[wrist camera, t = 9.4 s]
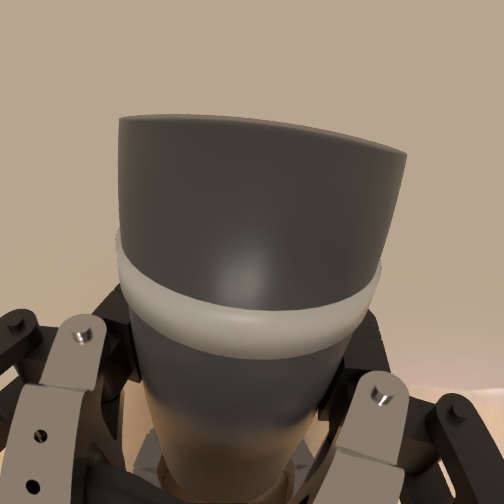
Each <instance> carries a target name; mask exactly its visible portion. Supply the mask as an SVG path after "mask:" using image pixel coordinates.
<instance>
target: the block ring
mask: <svg viewBox="0 0 504 504" xmlns="http://www.w3.org/2000/svg"><path fill="white" fill-rule="evenodd" d="M150 434H151V435H150ZM150 434H147V435H146V438H145V440H144V442H143V445H142V447H141V449H140V452H139V454H138V456H137V459H136V461H135V463H134V468H135V469H133V471H134V474H135V475H138V476H140V477H142V478H143V479H145V480H146V481H148V482H150V483H151V484H153V485H155V486H156V487H158V488H160V489H161V490H163V491H164V488H163V485H162V478H163V475H164V473H165V470H166V467H167V465H166V462H165V459H164V456H163V453H162V450H161V447H160V444H159V440H158V437H157V434H156V430H155V427H154V428H153V429H152V430H150ZM313 461H314V457H313V456H312V454H311V452H310V451H309V449H308V447H307V446H306V444H305V442H304V441H303V439H301V441H300V443H299V445H298V446H297V448H296V450H295V452H294V453H293V455H292V457H291V458H290V460H289V462H288V463H287V465H286V467H285V468H284V472H285V474H286V475H287V477H288V485H287V493H286V502H285V504H289V503H290V501H291V500H292V498H293V497H294V495H295V494H296V493H297V491H298V490H299V488H300V486H301V485H302V483H303V481H304V479H305V477H306V475H307V473H308V471H309V469H310V467H311V465H312V463H313Z"/></svg>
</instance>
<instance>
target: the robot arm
mask: <svg viewBox="0 0 504 504" xmlns="http://www.w3.org/2000/svg"><path fill="white" fill-rule="evenodd" d="M11 366H14V367H15V369H16V371H17V373H18V374H19V376H18V377H16V378H15V379H14V380H13V381H12V382H10V383H9V384H8V385H7V386H6V387H4V388H3V389H2V390H1V391H0V452H1V451H2V450H3V449H4V448H5V447H6V449H5V454H4V459H3V464H2V469H1V475H0V504H203V503H187V502H184V501H181V500H179V499H178V498H176V497H174V496H172V495H170V494H168V493H167V492H165V491H163V490H161V489H160V488H158V487H156V486H155V485H153V484H151V483H150V482H148V481H146V480H145V479H143V478H142V477H140V476H138V475H135V474H132V473H130V472H127V471H126V468H125V461H124V456H123V452H122V423H123V408H124V389H123V387H124V385H125V383H126V382H127V380H131V381H134V382H137V383H140V382H141V380H142V377H141V372H140V368H139V363H138V358H137V353H136V348H135V343H134V337H133V332H132V326H131V320H130V314H129V307H128V303H127V301H126V299H125V298H124V295H123V292H122V290H121V286H120V283H119V284H118V285H117V286H116V287H115V289H114V291H112V292H111V293H110V294H109V295H108V296H107V297H106V298H105V299H104V301H103V302H102V303H101V304H100V305H99V306H98V307H97V308H96V310H95V311H94V312H93V313H92V314H91V315H90V314H80V315H76V316H73V317H71V318H69V319H67V320H66V321H64V322H63V324H61V326H60V327H59V328H58V327H47V326H39V324H38V321H37V318H36V316H35V314H34V313H33V312H32V311H30V310H27V309H16V310H13V311H11V312H9V313H7V314H5V315H4V316H2V317H1V318H0V375H1V374H3V373H4V372H5V371H6V370H8V369H9V368H10V367H11ZM318 420H319V421H329V432H328V433H327V435H326V436H325V438H324V440H323V442H322V445H321V447H320V449H319V451H318V453H317V455H316V457H315V459H314V461H313V463H312V465H311V467H310V469H309V471H308V473H307V475H306V477H305V479H304V481H303V483H302V485H301V486H300V488H299V490H298V491H297V493H296V494H295V495H294V497H293V498H292V500H291V501H290V503H289V504H397V503H398V500H399V499H400V502H401V504H504V459H503V457H502V455H501V453H500V451H499V449H498V447H497V446H496V444H495V442H494V440H493V438H492V436H491V435H490V433H489V431H488V429H487V427H486V426H485V424H484V422H483V421H482V419H481V417H480V415H479V414H478V412H477V410H476V409H475V407H474V406H473V404H472V403H471V402H470V401H469V400H468V399H467V398H465V397H464V396H462V395H459V394H455V393H449V394H445V395H443V396H442V397H441V398H440V399H439V400H438V401H437V403H436V404H434V403H430V402H427V401H423V400H420V399H417V398H414V397H411V396H409V392H408V389H407V387H406V385H405V384H404V383H403V382H402V381H401V380H400V379H399V378H398V377H396V376H395V375H393V374H391V371H390V367H389V364H388V360H387V356H386V352H385V348H384V345H383V341H382V340H381V334H380V331H379V327H378V324H377V321H376V317H375V316H374V315H373V314H372V312H371V311H370V310H369V309H368V310H367V313H366V315H365V317H364V318H363V320H362V322H361V323H360V325H359V326H358V327H357V328H356V329H355V330H354V332H353V334H352V336H351V339H350V341H349V344H348V346H347V348H346V351H345V353H344V355H343V357H342V360H341V362H340V364H339V366H338V369H337V371H336V373H335V375H334V377H333V379H332V381H331V384H330V386H329V388H328V390H327V392H326V394H325V396H324V398H323V400H322V402H321V404H320V406H319V408H318ZM441 460H442V461H443V464H444V466H445V468H446V470H447V473H448V475H449V477H450V479H451V482H452V484H453V486H454V489H455V493H456V496H455V498H454V497H453V496H452V494H451V492H450V489H449V487H448V485H447V482H446V480H445V478H444V475H443V473H442V471H441V468H440V466H439V464H438V462H439V461H441ZM224 504H246V503H224Z"/></svg>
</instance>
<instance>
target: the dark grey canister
mask: <svg viewBox="0 0 504 504" xmlns="http://www.w3.org/2000/svg"><path fill="white" fill-rule="evenodd" d="M406 159H407V154H406V153H404V152H402V151H399V150H397V149H394V148H391V147H388V146H385V145H382V144H379V143H376V142H372V141H368V140H365V139H361V138H357V137H353V136H349V135H345V134H341V133H337V132H331V131H327V130H322V129H317V128H312V127H307V126H301V125H295V124H289V123H282V122H275V121H268V120H260V119H251V118H241V117H229V116H214V115H190V114H187V115H186V114H185V115H184V114H163V115H162V114H160V115H138V116H128V117H122V118H120V119H119V135H118V196H119V220H120V227H119V229H118V231H117V235H116V239H115V240H116V251H117V262H118V271H119V278H120V286H121V290H122V292H123V295H124V298H125V299H126V301H127V303H128V307H129V314H130V320H131V326H132V332H133V337H134V343H135V348H136V353H137V358H138V363H139V368H140V372H141V377H142V381H143V385H144V389H145V394H146V398H147V401H148V405H149V409H150V413H151V416H152V420H153V424H154V427H155V430H156V434H157V437H158V440H159V444H160V447H161V450H162V453H163V456H164V459H165V462H166V465H167V467H168V470H169V472H170V474H171V476H172V477H173V479H174V480H175V481H176V483H177V484H178V485H179V486H180V487H181V488H182V489H184V490H185V491H186V492H188V493H189V494H191V495H193V496H194V497H196V498H199V499H201V500H203V501H207V502H210V503H216V504H224V503H244V502H247V501H250V500H253V499H255V498H257V497H259V496H261V495H262V494H264V493H265V492H267V491H268V490H269V489H270V488H271V487H272V486H273V485H274V483H275V482H276V481H277V479H278V478H279V476H280V475H281V473H282V471H283V470H284V468H285V467H286V465H287V463H288V462H289V460H290V458H291V457H292V455H293V453H294V452H295V450H296V448H297V446H298V445H299V443H300V441H301V439H302V438H303V436H304V434H305V432H306V430H307V429H308V427H309V425H310V423H311V421H312V419H313V417H314V415H315V414H316V412H317V410H318V408H319V406H320V404H321V402H322V400H323V398H324V396H325V394H326V392H327V390H328V388H329V386H330V384H331V381H332V379H333V377H334V375H335V373H336V371H337V369H338V366H339V364H340V362H341V360H342V357H343V355H344V353H345V351H346V348H347V346H348V344H349V341H350V339H351V336H352V334H353V332H354V330H355V329H356V328H357V327H358V326H359V325H360V323H361V322H362V320H363V318H364V317H365V315H366V313H367V310H368V308H369V305H370V303H371V300H372V297H373V294H374V292H375V289H376V286H377V283H378V281H379V278H380V274H381V260H380V257H381V254H382V251H383V248H384V245H385V241H386V238H387V235H388V231H389V228H390V224H391V220H392V217H393V213H394V209H395V206H396V202H397V198H398V194H399V190H400V186H401V182H402V177H403V173H404V168H405V164H406Z"/></svg>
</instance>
